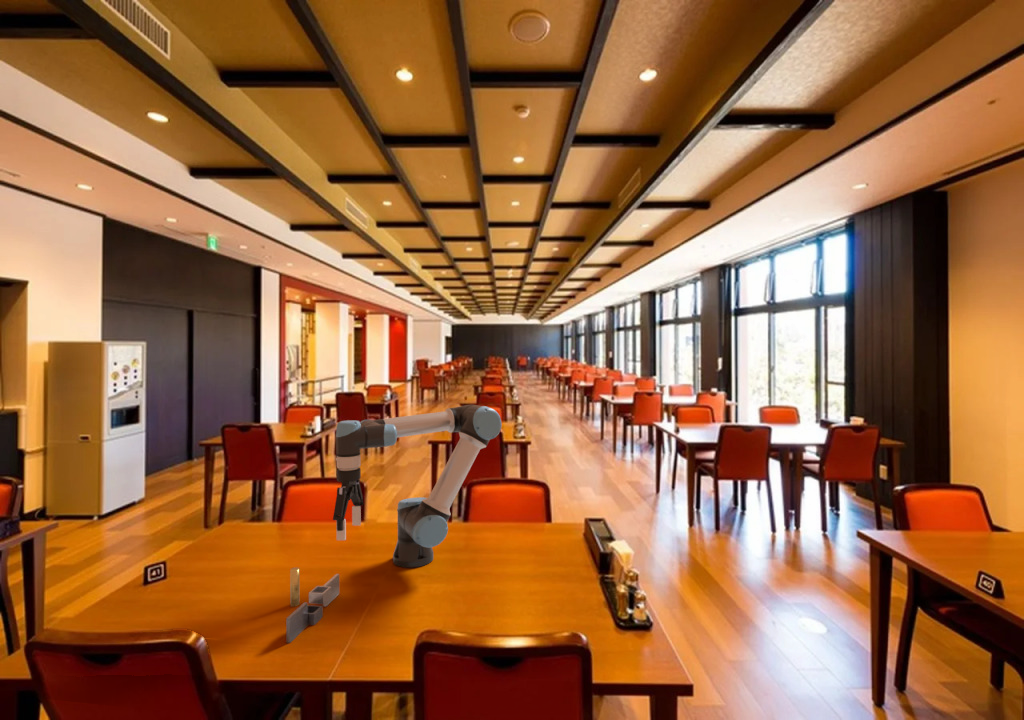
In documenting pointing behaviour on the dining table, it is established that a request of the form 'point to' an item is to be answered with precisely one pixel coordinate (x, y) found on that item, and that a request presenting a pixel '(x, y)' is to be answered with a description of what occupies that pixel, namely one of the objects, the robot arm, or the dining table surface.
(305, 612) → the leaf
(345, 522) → the robot arm
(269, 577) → the dining table surface
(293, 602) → the pin
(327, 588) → the leaf
